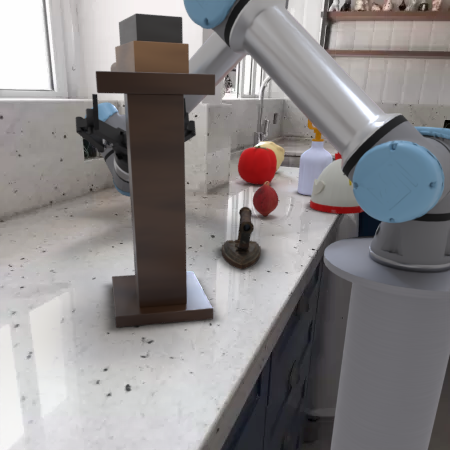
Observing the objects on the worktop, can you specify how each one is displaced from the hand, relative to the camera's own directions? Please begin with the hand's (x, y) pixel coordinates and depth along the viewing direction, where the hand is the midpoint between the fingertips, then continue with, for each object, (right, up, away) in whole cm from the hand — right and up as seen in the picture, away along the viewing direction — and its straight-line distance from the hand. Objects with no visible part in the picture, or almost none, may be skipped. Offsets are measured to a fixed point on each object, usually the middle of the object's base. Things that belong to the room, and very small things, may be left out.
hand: (140, 104), depth 75 cm
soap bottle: (+39, 0, +64) cm, 75 cm away
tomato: (+23, +6, +77) cm, 81 cm away
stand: (+4, -31, -10) cm, 32 cm away
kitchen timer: (+42, -7, +47) cm, 63 cm away
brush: (+2, -2, -14) cm, 14 cm away
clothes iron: (+16, -24, +8) cm, 30 cm away
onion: (+22, -11, +37) cm, 44 cm away
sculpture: (+28, +15, +99) cm, 104 cm away
